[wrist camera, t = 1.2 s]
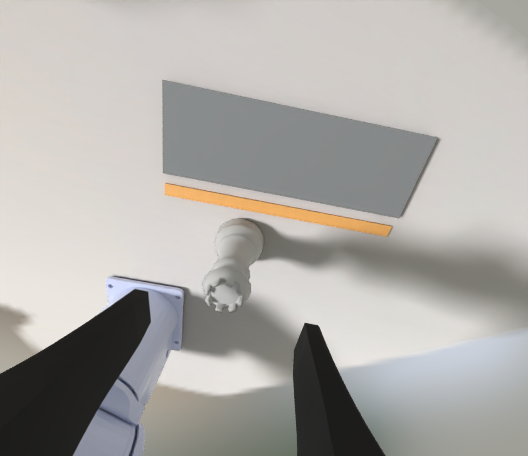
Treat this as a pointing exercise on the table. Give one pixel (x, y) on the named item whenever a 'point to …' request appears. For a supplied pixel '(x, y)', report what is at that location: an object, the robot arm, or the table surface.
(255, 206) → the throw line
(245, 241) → the rook chess piece
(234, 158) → the mat
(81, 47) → the table surface
